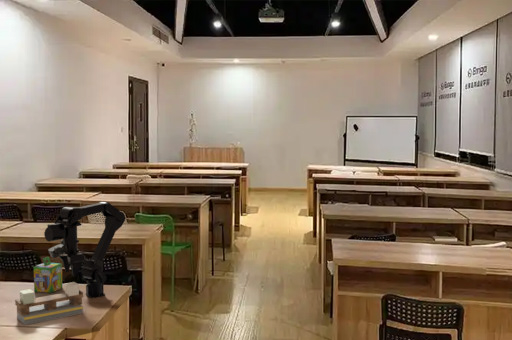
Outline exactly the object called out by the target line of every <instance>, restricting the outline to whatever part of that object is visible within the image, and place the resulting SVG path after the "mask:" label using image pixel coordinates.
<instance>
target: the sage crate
mask: <svg viewBox="0 0 512 340" xmlns="http://www.w3.org/2000/svg"><path fill="white" fill-rule="evenodd" d="M35 298H36V297H35V292H34V291H33V290H32V288H30V289H23V290H19V301H20V302H21V303H22V304H23V305H24V304H30V303H35Z"/></svg>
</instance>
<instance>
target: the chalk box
mask: <svg viewBox="0 0 512 340" xmlns="http://www.w3.org/2000/svg"><path fill="white" fill-rule="evenodd" d="M50 259H51V258H50V257H49V256H45V257H44V258H42V261H43V263H40V264H37V265H35V266H33V290H34V293H48V294H49V293H51V294H54V293H55V292H56V291H59V290H62V289H63V263H57V262H51V260H50ZM46 261H48V262H46Z"/></svg>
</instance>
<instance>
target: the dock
mask: <svg viewBox="0 0 512 340" xmlns="http://www.w3.org/2000/svg"><path fill="white" fill-rule="evenodd" d="M56 306H57V309H55V310H49V311H48V310H47V309H46V308H45V307H44V304H43V305H38V306H32V307H29V309H30V314H29V315H23V316H21V315H20V314H19V313H18V312H17V311H16V318H17V319H18V320H19V321H20V322H21V324H22V325H24V326H26V325H30V324H31V325H32V324H37V323H42V322H46V321H51V320H57V319H61V318H66V317H71V316H76V315H80V314H83V313H84V311H83V309H84V306H83V305H82V304H81V305H76V306H74V305H73V304H72V303H70V302H69V300H65V301H59V302H56Z"/></svg>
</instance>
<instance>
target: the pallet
mask: <svg viewBox="0 0 512 340" xmlns="http://www.w3.org/2000/svg"><path fill="white" fill-rule="evenodd" d="M83 298H84V292H83V291H82V290H80V289H79V295H74V296H68V295H66V294H65V292H63V293H56V294H51V295H45V296H39V297H35V303H30V304H24V305H23V304H22V303H21V302H20V299H17V298H15V300H14V302H15V303H14V305H15V306H16V313H17V312H18V313H19V314H20V315H21V316H23V315H29V314H30V309H29V308H31V307H36V306H41V305H44V307H45V308H46V309H47V310H48V311H49V310H55V309H57V306H56V303H58V302H63V301H69V302H70V303H72V304H73V305H74V306H76V305H82V304H83Z"/></svg>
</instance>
